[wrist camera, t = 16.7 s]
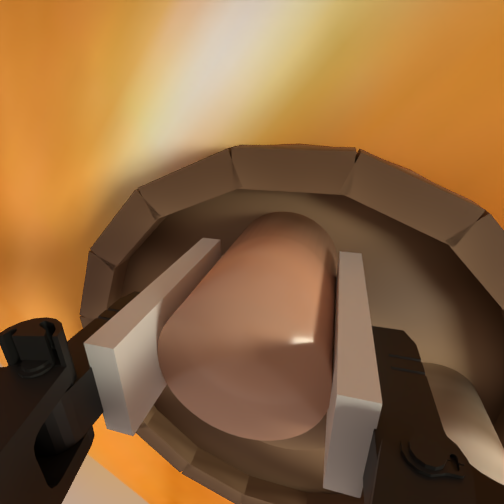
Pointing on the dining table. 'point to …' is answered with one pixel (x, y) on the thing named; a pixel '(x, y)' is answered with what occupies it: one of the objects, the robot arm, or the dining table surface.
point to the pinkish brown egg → (258, 332)
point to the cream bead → (466, 420)
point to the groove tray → (345, 240)
